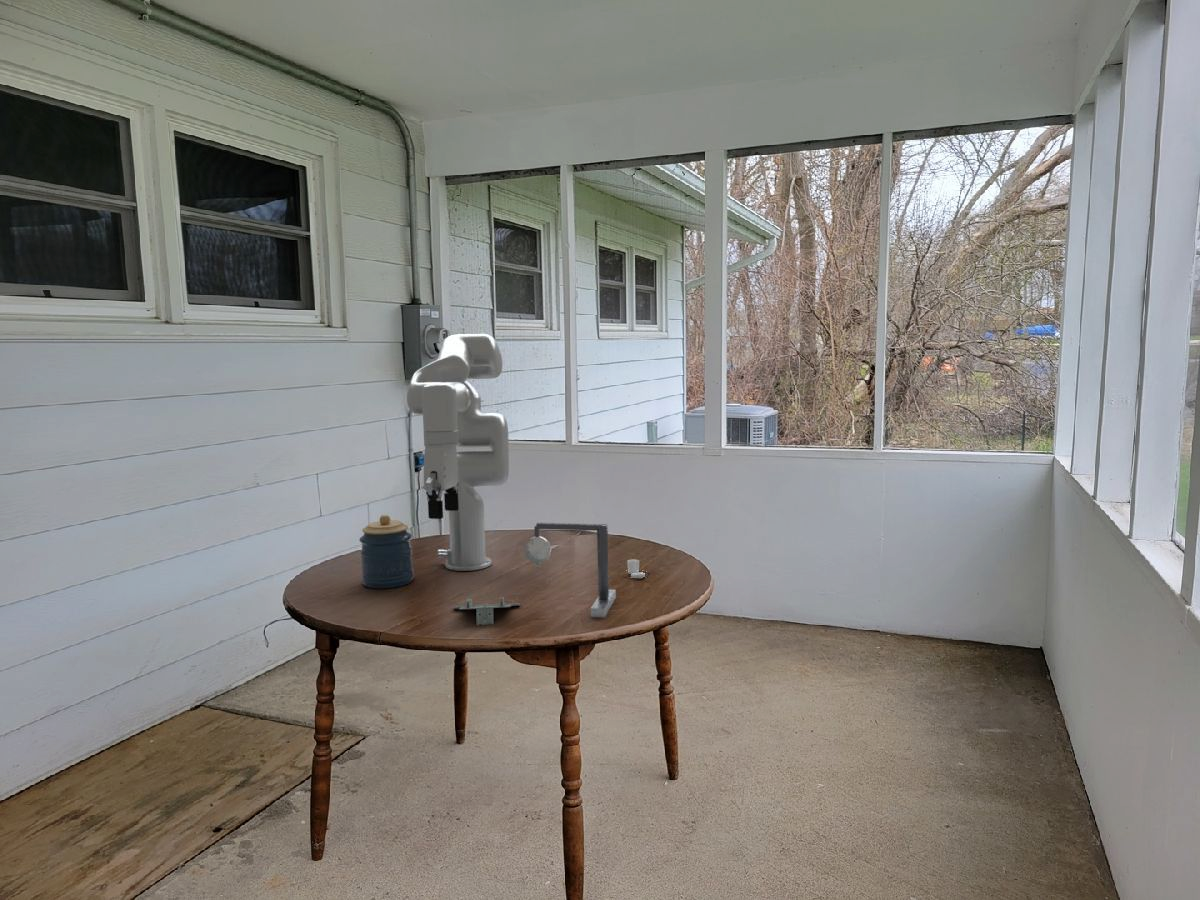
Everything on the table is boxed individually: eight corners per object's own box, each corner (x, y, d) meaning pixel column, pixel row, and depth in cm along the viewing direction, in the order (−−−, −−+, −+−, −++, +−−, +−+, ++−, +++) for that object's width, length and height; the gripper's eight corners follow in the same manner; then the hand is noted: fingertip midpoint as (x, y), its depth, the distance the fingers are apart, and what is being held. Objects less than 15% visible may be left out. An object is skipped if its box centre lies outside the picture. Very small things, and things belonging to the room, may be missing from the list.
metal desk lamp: (517, 613, 174) (515, 529, 172) (535, 594, 188) (533, 516, 186) (604, 617, 170) (602, 532, 168) (615, 598, 184) (614, 518, 182)
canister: (421, 583, 199) (417, 515, 197) (370, 592, 192) (366, 522, 190) (404, 572, 210) (401, 507, 208) (355, 580, 203) (352, 513, 201)
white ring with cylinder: (646, 581, 198) (646, 566, 198) (615, 580, 200) (615, 565, 199) (651, 572, 207) (651, 557, 206) (621, 571, 208) (621, 556, 208)
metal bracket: (519, 597, 168) (448, 600, 167) (520, 624, 167) (449, 628, 166) (519, 596, 182) (454, 599, 181) (520, 621, 181) (455, 624, 180)
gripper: (439, 435, 184) (442, 507, 185) (409, 442, 167) (412, 521, 168) (470, 435, 182) (472, 507, 184) (442, 442, 165) (445, 522, 167)
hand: (444, 514), depth 176 cm, fingers open, 9 cm apart
